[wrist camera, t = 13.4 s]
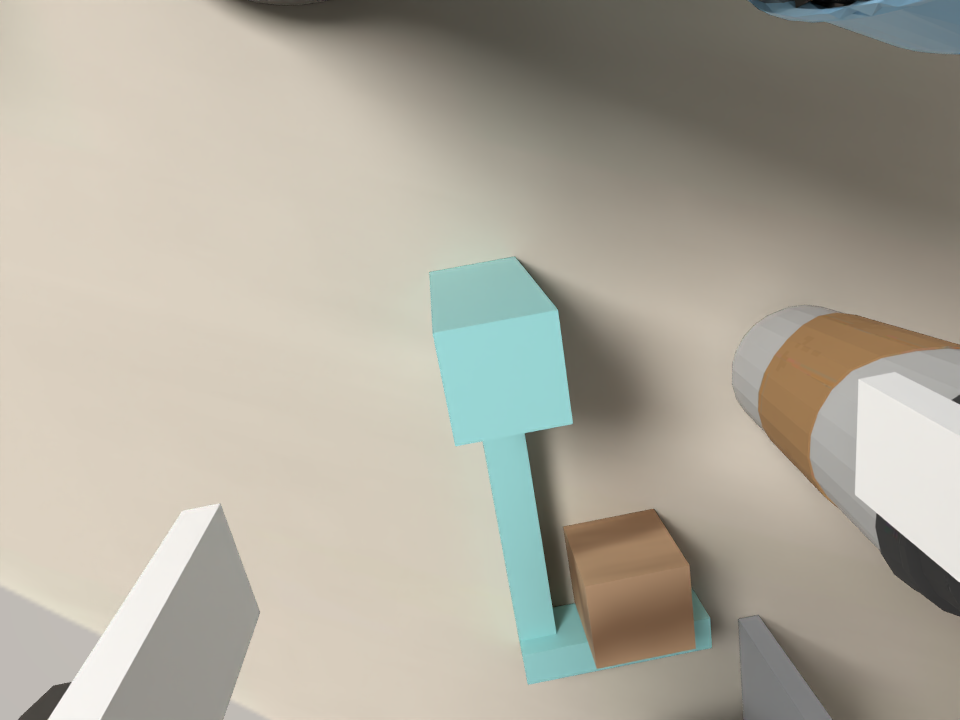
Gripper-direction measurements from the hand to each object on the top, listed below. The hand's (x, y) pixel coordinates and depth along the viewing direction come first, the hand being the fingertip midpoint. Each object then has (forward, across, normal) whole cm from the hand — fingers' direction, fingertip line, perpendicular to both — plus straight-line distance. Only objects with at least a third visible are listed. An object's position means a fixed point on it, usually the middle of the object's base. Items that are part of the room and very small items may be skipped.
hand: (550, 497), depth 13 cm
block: (+18, +5, -16) cm, 24 cm away
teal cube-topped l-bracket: (+18, +3, -10) cm, 21 cm away
